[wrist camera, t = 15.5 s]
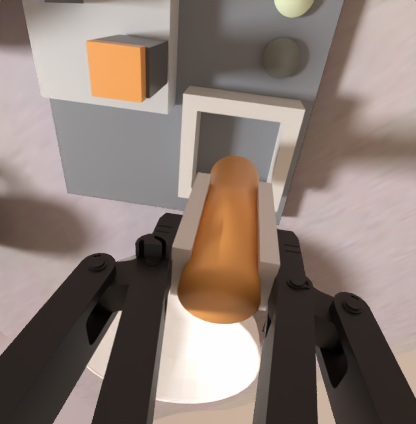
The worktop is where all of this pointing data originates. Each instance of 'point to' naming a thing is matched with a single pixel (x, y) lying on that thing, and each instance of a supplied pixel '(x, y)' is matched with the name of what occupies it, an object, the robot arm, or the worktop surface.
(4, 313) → the worktop surface
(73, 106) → the panel board
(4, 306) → the worktop surface
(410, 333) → the worktop surface
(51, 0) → the block
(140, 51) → the block
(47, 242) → the worktop surface
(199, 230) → the pin
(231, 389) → the bowl
